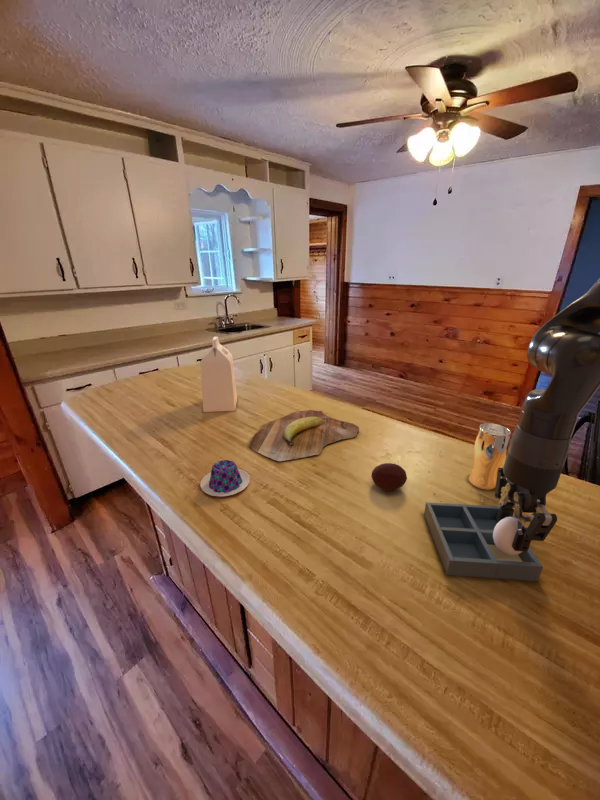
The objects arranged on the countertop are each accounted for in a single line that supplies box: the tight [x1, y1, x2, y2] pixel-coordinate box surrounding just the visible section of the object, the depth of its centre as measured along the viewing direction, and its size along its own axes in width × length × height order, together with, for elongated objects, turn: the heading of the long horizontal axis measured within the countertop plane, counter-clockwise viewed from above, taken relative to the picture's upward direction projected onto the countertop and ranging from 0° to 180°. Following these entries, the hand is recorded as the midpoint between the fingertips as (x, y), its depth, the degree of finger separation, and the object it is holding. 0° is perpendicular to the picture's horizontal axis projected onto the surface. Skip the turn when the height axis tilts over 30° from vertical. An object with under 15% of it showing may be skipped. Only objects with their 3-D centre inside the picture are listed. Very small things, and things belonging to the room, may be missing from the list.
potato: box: [371, 462, 408, 492], centre depth 81 cm, size 7×8×6 cm
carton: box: [423, 501, 544, 582], centre depth 65 cm, size 15×15×3 cm
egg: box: [493, 516, 526, 555], centre depth 60 cm, size 5×5×7 cm
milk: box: [200, 336, 238, 413], centre depth 125 cm, size 12×12×26 cm
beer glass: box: [468, 422, 512, 491], centre depth 82 cm, size 7×7×15 cm
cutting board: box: [249, 409, 360, 462], centre depth 107 cm, size 35×27×4 cm
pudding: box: [199, 459, 251, 497], centre depth 82 cm, size 12×12×5 cm
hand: (510, 536), depth 60 cm, fingers closed on egg, 5 cm apart
